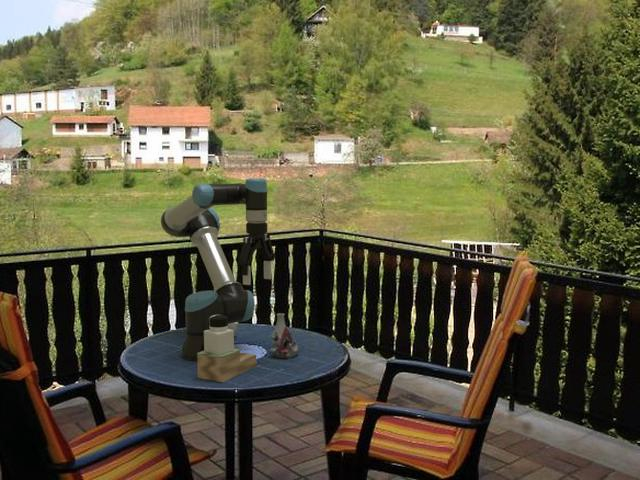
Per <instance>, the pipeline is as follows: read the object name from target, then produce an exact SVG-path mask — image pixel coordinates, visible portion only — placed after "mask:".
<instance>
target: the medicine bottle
mask: <svg viewBox="0 0 640 480" xmlns="http://www.w3.org/2000/svg"><path fill="white" fill-rule="evenodd" d="M209 327H210V329H209V330H205V331H204V351H205V352H208V353H212V354H216V355H221V354H224V353H228V352H231V351H234V349H235V336H234V330H231V329H227V328H228V317H227V316H225V315H213V316H211V317H210V318H209Z"/></svg>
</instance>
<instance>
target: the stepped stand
mask: <svg viewBox="0 0 640 480" xmlns="http://www.w3.org/2000/svg"><path fill="white" fill-rule="evenodd" d="M240 349H241V348H240ZM240 349H239V348H234V351H231V352H228V353H224V354H221V355H216V354H212V353H208V352H205V351H201V352H199V353H197V361H196V362H197V378H198V379H201V378H202V380H208V381H214V382H217V383H224V382H227V381H228V380H230V379H232V378H235V377H237V376H238V375H241V374H243V373H245V372H247V371H249V370H251V369H253V368H255V367H257V354H253V353H247V352H241V350H240Z"/></svg>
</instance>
